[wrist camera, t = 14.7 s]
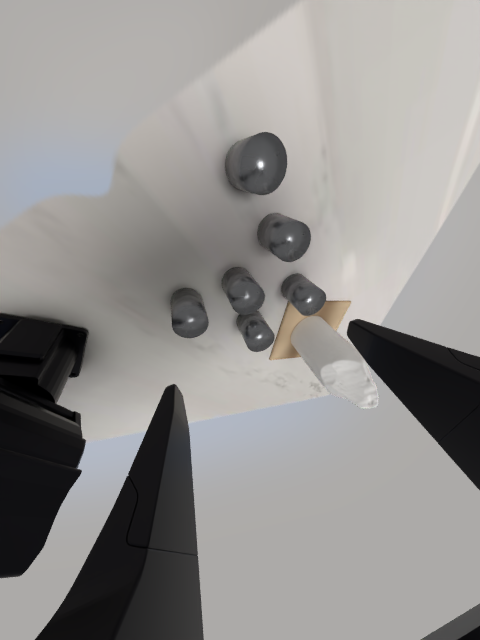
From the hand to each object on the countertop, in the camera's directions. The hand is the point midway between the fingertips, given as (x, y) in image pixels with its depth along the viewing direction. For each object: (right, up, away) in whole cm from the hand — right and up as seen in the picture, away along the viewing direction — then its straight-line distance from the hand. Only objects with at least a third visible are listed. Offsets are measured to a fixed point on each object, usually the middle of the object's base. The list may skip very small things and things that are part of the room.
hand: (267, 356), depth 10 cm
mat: (+9, 0, +20) cm, 22 cm away
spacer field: (+1, +7, +12) cm, 14 cm away
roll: (+8, 0, +20) cm, 22 cm away
